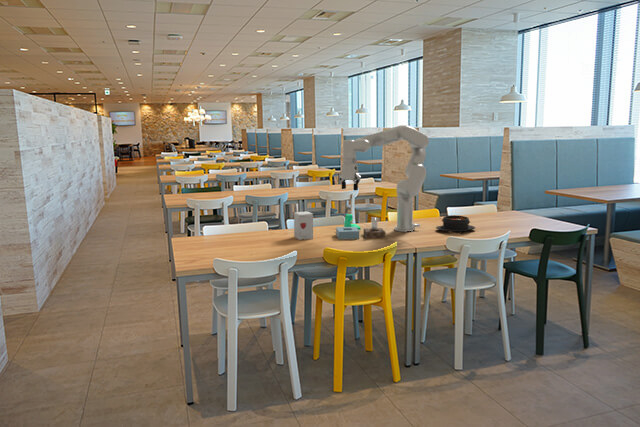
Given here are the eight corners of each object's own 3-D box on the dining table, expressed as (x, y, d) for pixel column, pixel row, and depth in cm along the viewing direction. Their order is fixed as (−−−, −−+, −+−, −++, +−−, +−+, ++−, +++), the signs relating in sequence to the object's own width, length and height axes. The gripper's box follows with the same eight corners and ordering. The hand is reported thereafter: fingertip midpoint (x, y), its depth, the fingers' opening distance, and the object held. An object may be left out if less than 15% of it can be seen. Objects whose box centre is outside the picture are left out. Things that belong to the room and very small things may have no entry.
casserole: (464, 226, 315) (465, 213, 314) (481, 232, 298) (482, 219, 296) (429, 229, 308) (430, 216, 307) (445, 235, 291) (446, 221, 289)
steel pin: (376, 235, 291) (376, 217, 289) (377, 236, 288) (377, 218, 286) (371, 235, 291) (371, 217, 289) (372, 236, 288) (372, 218, 286)
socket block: (356, 234, 295) (356, 226, 294) (359, 238, 283) (359, 231, 282) (336, 234, 294) (336, 227, 293) (338, 239, 282) (338, 231, 281)
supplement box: (298, 240, 280) (298, 214, 277) (293, 236, 288) (293, 212, 286) (313, 238, 283) (313, 213, 281) (308, 235, 292) (308, 210, 289)
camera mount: (360, 231, 302) (361, 215, 300) (349, 232, 301) (349, 215, 299) (355, 227, 314) (355, 211, 312) (344, 228, 312) (344, 212, 310)
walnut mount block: (381, 233, 295) (381, 228, 295) (385, 237, 285) (385, 232, 284) (363, 234, 294) (363, 228, 294) (366, 238, 284) (366, 232, 283)
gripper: (364, 161, 285) (364, 190, 288) (343, 159, 297) (343, 187, 300) (356, 162, 280) (356, 191, 283) (334, 160, 292) (334, 188, 295)
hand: (349, 189), depth 292 cm, fingers open, 9 cm apart
